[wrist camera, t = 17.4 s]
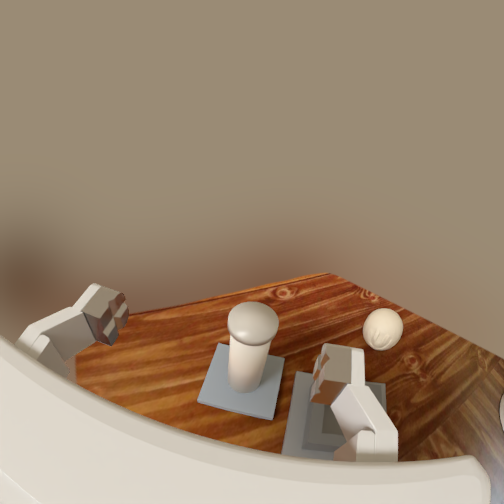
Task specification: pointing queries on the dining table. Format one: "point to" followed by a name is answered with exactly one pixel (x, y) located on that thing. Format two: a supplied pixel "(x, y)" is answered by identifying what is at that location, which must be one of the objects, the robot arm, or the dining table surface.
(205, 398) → the mat
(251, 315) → the plug
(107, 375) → the dining table surface
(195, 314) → the dining table surface
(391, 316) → the cream rounded ball
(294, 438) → the socket collar
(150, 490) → the robot arm
